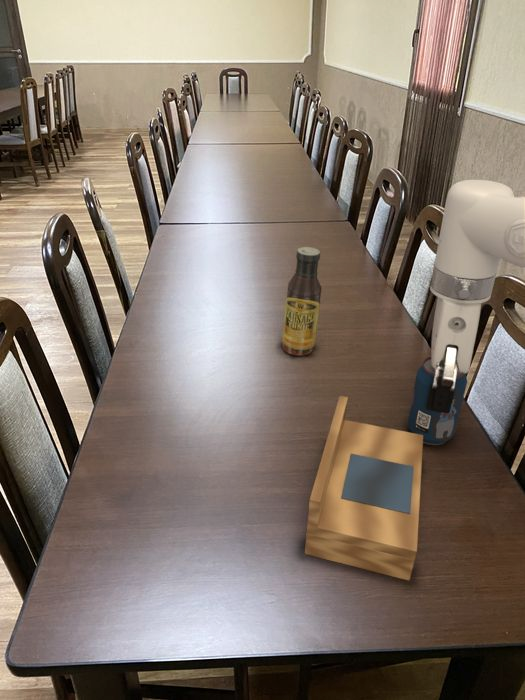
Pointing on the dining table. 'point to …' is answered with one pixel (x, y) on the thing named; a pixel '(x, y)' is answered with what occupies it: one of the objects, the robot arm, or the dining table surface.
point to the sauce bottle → (302, 304)
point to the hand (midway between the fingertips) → (437, 394)
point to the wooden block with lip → (366, 497)
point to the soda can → (431, 422)
